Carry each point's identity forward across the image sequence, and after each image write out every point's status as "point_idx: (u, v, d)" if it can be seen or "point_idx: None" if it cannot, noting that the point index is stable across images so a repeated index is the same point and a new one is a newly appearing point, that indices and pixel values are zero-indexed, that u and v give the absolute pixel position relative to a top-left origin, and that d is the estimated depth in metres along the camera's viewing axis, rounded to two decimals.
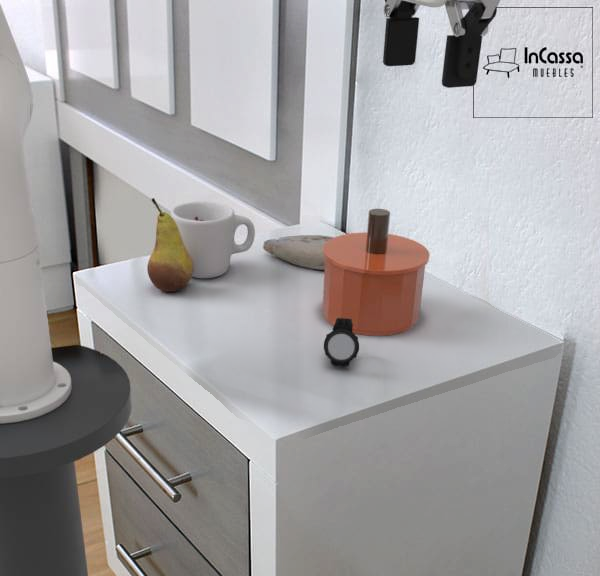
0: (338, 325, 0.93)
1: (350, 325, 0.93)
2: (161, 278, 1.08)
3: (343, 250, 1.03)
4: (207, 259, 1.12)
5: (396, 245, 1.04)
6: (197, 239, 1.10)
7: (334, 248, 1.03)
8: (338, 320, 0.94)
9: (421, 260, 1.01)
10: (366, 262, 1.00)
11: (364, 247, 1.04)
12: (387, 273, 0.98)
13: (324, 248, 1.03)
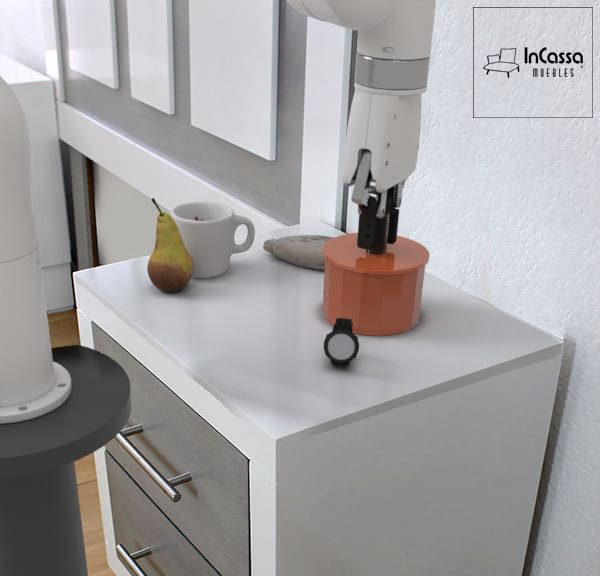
0: (338, 325, 0.93)
1: (350, 325, 0.93)
2: (161, 278, 1.08)
3: (343, 250, 1.03)
4: (207, 259, 1.12)
5: (396, 245, 1.04)
6: (197, 239, 1.10)
7: (334, 248, 1.03)
8: (338, 320, 0.94)
9: (421, 260, 1.01)
10: (366, 262, 1.00)
11: None
12: (387, 273, 0.98)
13: (324, 248, 1.03)
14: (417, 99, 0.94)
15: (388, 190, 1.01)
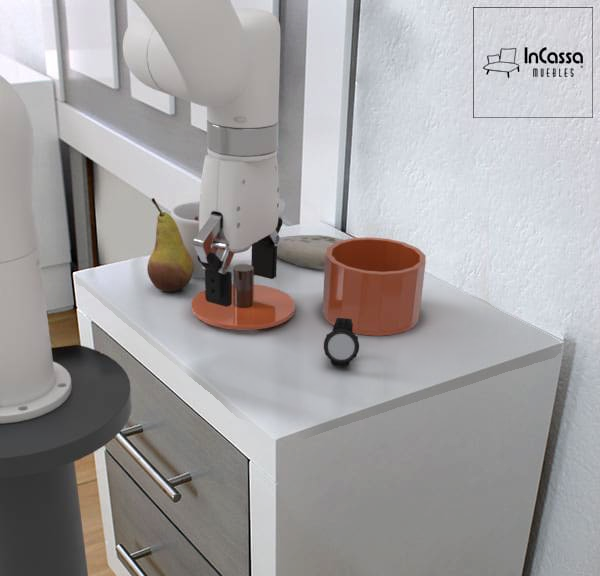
0: (338, 325, 0.93)
1: (350, 325, 0.93)
2: (161, 278, 1.08)
3: (211, 303, 1.06)
4: None
5: (265, 298, 1.07)
6: None
7: (203, 302, 1.06)
8: (338, 320, 0.94)
9: (284, 314, 1.04)
10: (229, 316, 1.03)
11: (233, 299, 1.07)
12: (248, 328, 1.01)
13: (193, 301, 1.06)
14: (270, 162, 0.97)
15: None
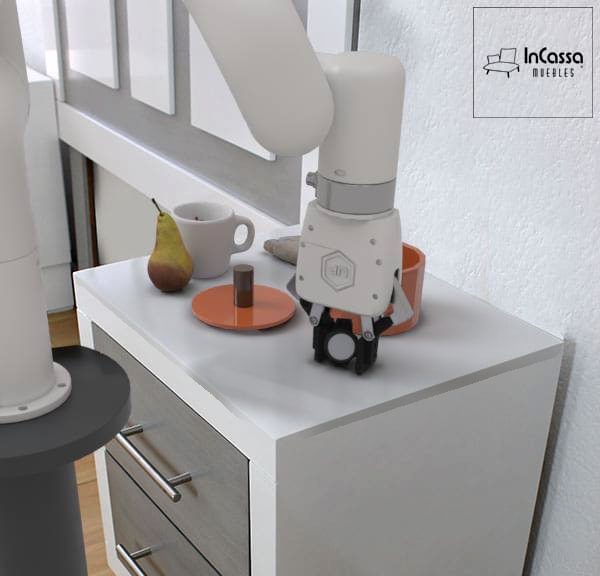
0: (338, 325, 0.93)
1: (350, 325, 0.93)
2: (161, 278, 1.08)
3: (211, 303, 1.06)
4: (207, 259, 1.12)
5: (265, 298, 1.07)
6: (197, 239, 1.10)
7: (203, 302, 1.06)
8: (338, 320, 0.94)
9: (284, 314, 1.04)
10: (229, 316, 1.03)
11: (233, 299, 1.07)
12: (248, 328, 1.01)
13: (193, 301, 1.06)
14: None
15: None
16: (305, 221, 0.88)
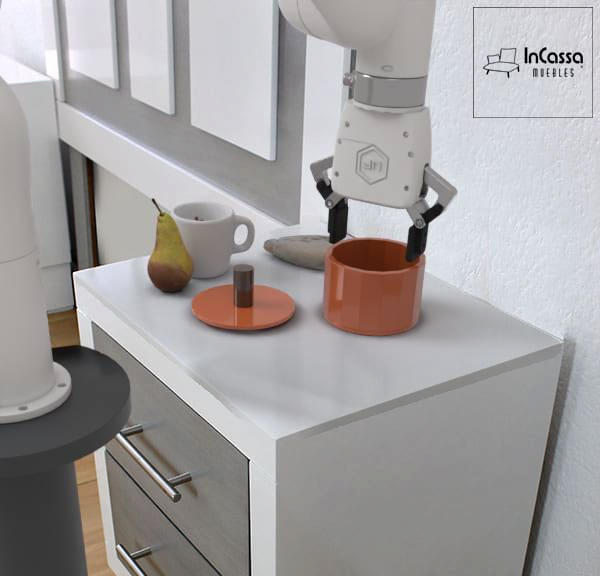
0: None
1: None
2: (161, 278, 1.08)
3: (211, 303, 1.06)
4: (207, 259, 1.12)
5: (265, 298, 1.07)
6: (197, 239, 1.10)
7: (203, 302, 1.06)
8: None
9: (284, 314, 1.04)
10: (229, 316, 1.03)
11: (233, 299, 1.07)
12: (248, 328, 1.01)
13: (193, 301, 1.06)
14: None
15: (333, 191, 1.02)
16: (342, 118, 0.95)
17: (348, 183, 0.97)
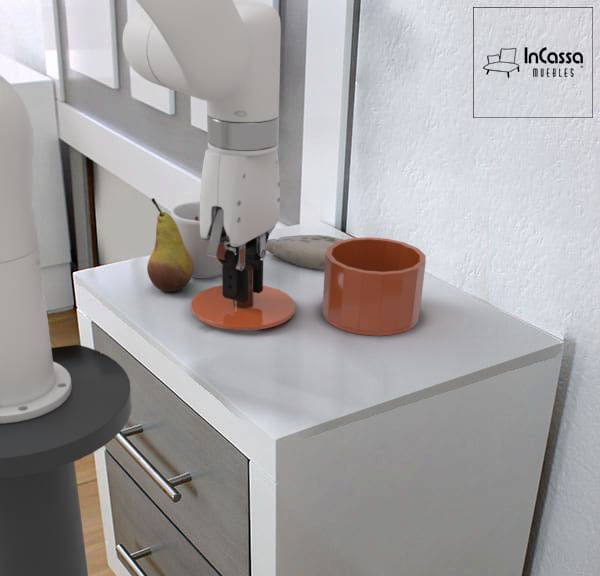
0: None
1: None
2: (161, 278, 1.08)
3: (211, 303, 1.05)
4: (207, 259, 1.12)
5: (265, 298, 1.07)
6: (197, 239, 1.10)
7: (202, 302, 1.06)
8: None
9: (284, 314, 1.04)
10: (229, 317, 1.03)
11: (233, 300, 1.07)
12: (247, 328, 1.01)
13: (193, 301, 1.06)
14: (271, 157, 0.97)
15: (252, 241, 1.04)
16: None
17: None
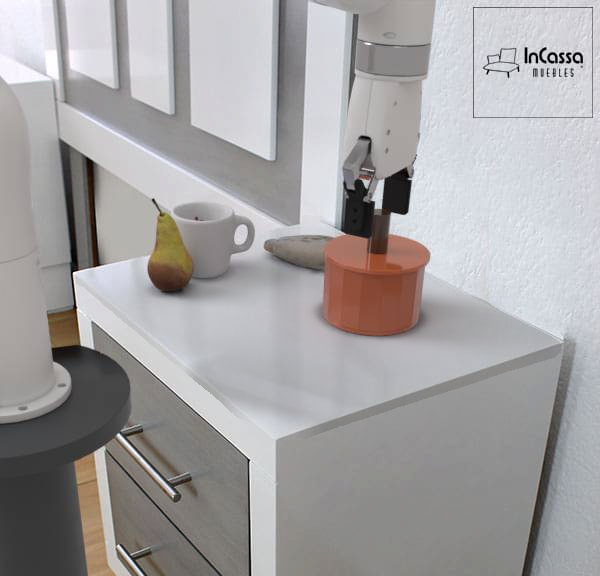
0: None
1: None
2: (161, 278, 1.08)
3: (344, 250, 1.03)
4: (207, 259, 1.12)
5: (397, 245, 1.04)
6: (197, 239, 1.10)
7: (335, 248, 1.03)
8: None
9: (422, 260, 1.01)
10: (367, 262, 1.00)
11: (365, 247, 1.04)
12: (388, 273, 0.98)
13: (325, 248, 1.03)
14: (418, 86, 0.93)
15: None
16: None
17: None
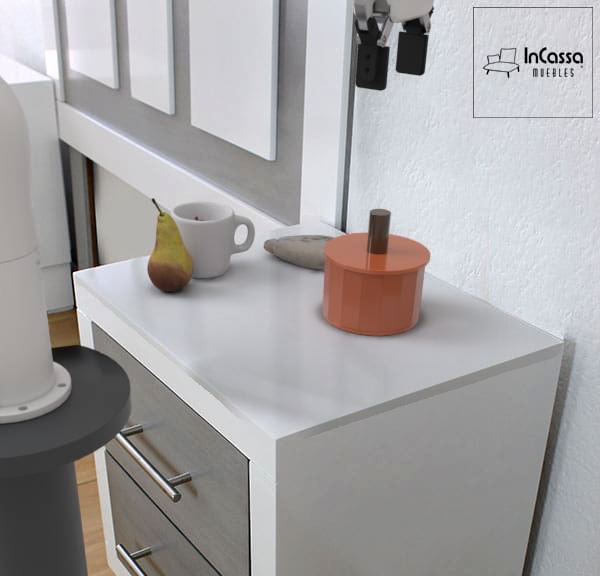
0: None
1: None
2: (161, 278, 1.08)
3: (344, 250, 1.03)
4: (207, 259, 1.12)
5: (397, 245, 1.04)
6: (197, 239, 1.10)
7: (335, 248, 1.03)
8: None
9: (422, 260, 1.01)
10: (367, 262, 1.00)
11: (365, 247, 1.04)
12: (388, 273, 0.98)
13: (325, 248, 1.03)
14: None
15: None
16: None
17: None
